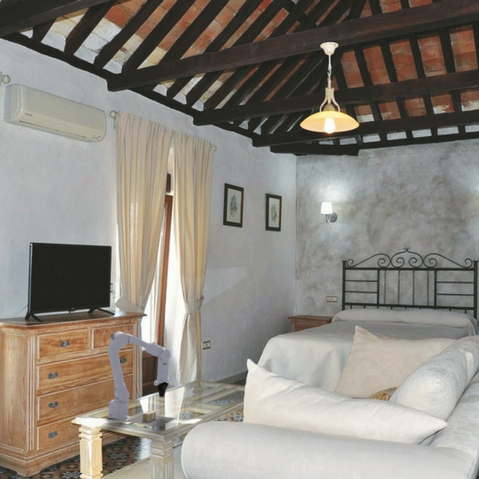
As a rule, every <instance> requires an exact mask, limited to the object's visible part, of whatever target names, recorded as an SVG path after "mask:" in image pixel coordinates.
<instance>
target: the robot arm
mask: <svg viewBox="0 0 479 479" xmlns="http://www.w3.org/2000/svg"><path fill="white" fill-rule="evenodd" d="M127 344H128V345H130V344H135V345H137V346H139V347H141V348H144V349H145V352H146V353H148V354H150V355H152V356H155V357H158V359H157V376H156V380H154V381H153V386H156V389H157V391H158V396H159V398H165V394H166V390H167V388H168V386H169V382H171V377H170V376H169V367H170V365H169V364H170V362H169V360H170V358H171V355H172V354H171V351H170V350H169V349H167V348H165V347H164V346H163V345H159V344H157V342H155V341H150V342H146V341H144V340H143V339H140V338H139V337H136V336H135V335H133V334H129V333H126V332H123V331H119V330H117V331H116V332H115V333H113V334H112V336H111V338H110V342H109V344H108V347H107V354H108V358H109V359H108V360H109V362H110V368H111V372H112V377H113V383H114V385H113V386H114V388H113V389H114V390H113V395H114V399H111V400H110V401H109V404H108V416H107V418H108V419H115V420H122V421H125V420H126V419H128V418H129V419H130V418H132V416H131V415H129V399H130V391H129V390H128V389H127V385H126V382H125V379H124V375H123V370H122V369H123V368H122V365H121V360H120V355H119V351H120V350H121V349H122V348H123V347H125V346H127Z"/></svg>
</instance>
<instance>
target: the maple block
mask: <svg viewBox="0 0 479 479" xmlns="http://www.w3.org/2000/svg"><path fill="white" fill-rule="evenodd" d="M156 415H157V411H156V410H152V409H151V410H147V411H145V412H143V415H142V421H148V422H149V421H151V420H153V419H155V418H156Z"/></svg>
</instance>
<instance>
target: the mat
mask: <svg viewBox="0 0 479 479" xmlns="http://www.w3.org/2000/svg"><path fill="white" fill-rule="evenodd" d="M143 413H144V412H143ZM143 413H140V414H138V415H136V416H133V417H130V418H129V419H128V418H127V420H126V419H125V420H124V422H125V423H126V422H127V423H133V424H140V425H144V426H152V427H157V428H158V427H159V428H160V427H162V426H164V425H165V424H167V423H170V422H171V421H174V420H176V419H177V418H176V417H171V416H170V417H169V416H165V415H157V414H156V418H155V419H153V420H151V421H149V422H148V421H142V415H143Z"/></svg>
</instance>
